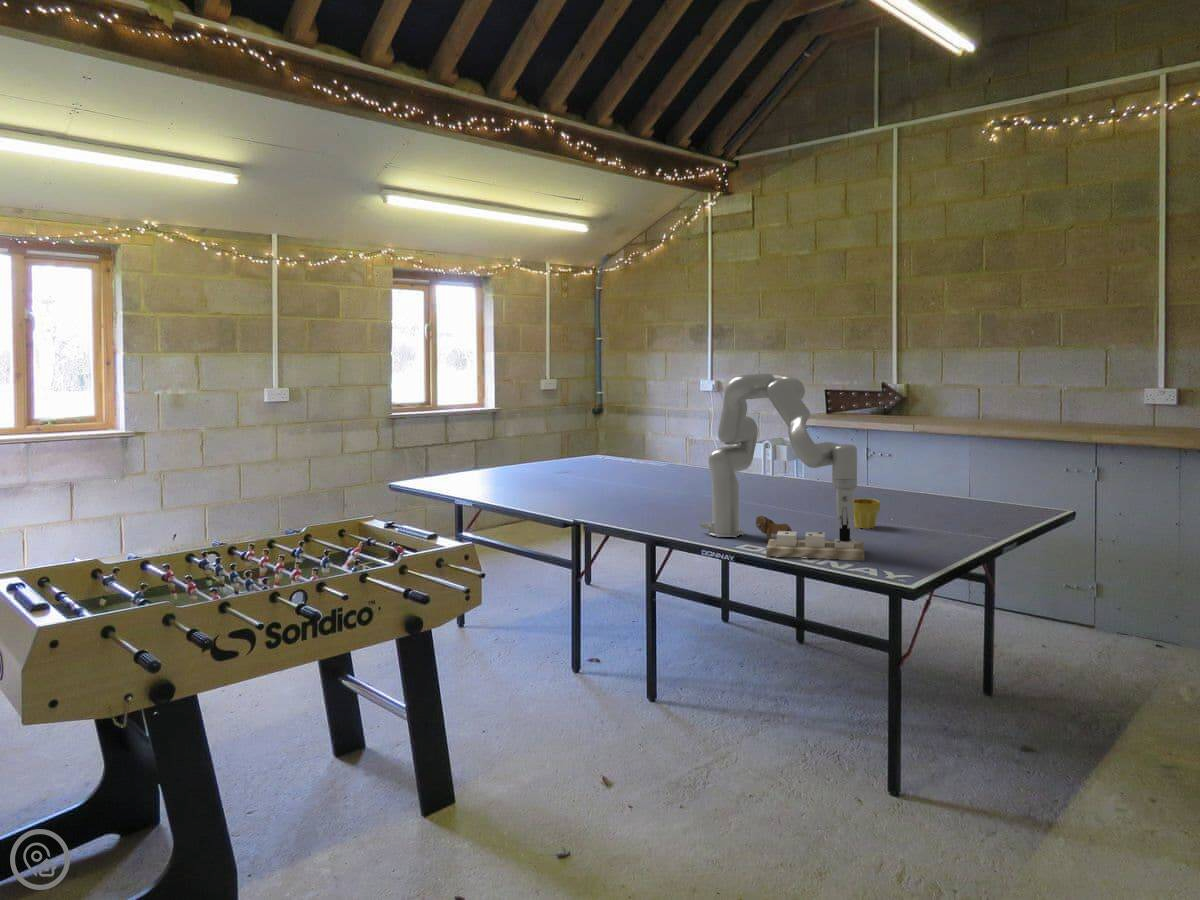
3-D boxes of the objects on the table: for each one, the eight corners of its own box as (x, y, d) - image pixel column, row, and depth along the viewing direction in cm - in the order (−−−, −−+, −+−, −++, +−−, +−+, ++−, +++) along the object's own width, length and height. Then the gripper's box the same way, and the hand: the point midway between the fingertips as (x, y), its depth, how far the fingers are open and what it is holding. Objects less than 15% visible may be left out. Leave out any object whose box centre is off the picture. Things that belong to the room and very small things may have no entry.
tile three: (834, 555, 274) (834, 542, 274) (834, 550, 280) (834, 538, 279) (854, 555, 273) (854, 542, 272) (854, 551, 278) (854, 538, 278)
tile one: (776, 547, 279) (776, 534, 278) (778, 543, 285) (778, 530, 284) (795, 547, 277) (795, 535, 277) (796, 543, 283) (796, 531, 283)
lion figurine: (753, 542, 297) (753, 517, 296) (757, 539, 302) (757, 514, 301) (796, 545, 291) (796, 519, 290) (799, 542, 296) (799, 516, 295)
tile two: (805, 548, 276) (805, 535, 276) (806, 543, 282) (806, 531, 282) (824, 548, 275) (824, 535, 274) (825, 544, 281) (825, 531, 280)
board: (766, 557, 277) (766, 547, 276) (769, 547, 289) (769, 538, 289) (864, 560, 269) (864, 551, 268) (863, 550, 281) (863, 541, 281)
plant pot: (857, 531, 310) (857, 504, 309) (845, 525, 320) (845, 499, 319) (884, 529, 311) (884, 502, 310) (871, 523, 321) (872, 497, 320)
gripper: (857, 487, 265) (857, 546, 268) (856, 480, 280) (856, 535, 282) (831, 487, 267) (832, 545, 270) (832, 479, 282) (832, 535, 284)
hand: (844, 540), depth 276 cm, fingers closed
